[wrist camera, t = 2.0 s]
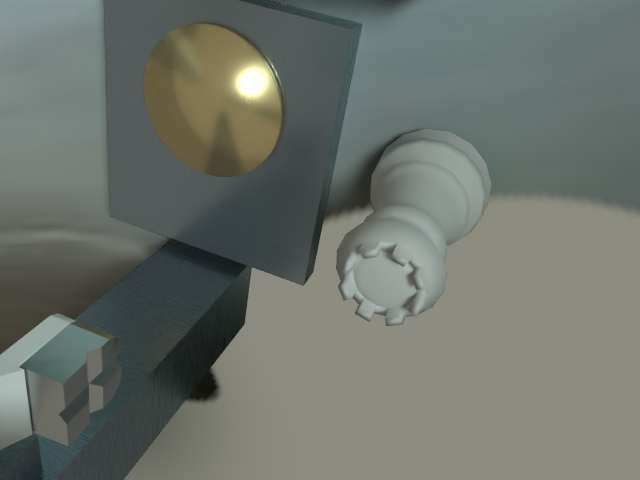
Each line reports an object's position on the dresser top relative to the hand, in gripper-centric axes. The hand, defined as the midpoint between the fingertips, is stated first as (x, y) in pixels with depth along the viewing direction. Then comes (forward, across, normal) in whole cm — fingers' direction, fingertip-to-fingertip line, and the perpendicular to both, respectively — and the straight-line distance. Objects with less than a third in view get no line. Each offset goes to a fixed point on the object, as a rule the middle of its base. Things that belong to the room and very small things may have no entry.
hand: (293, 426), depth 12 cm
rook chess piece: (+14, -1, 0) cm, 14 cm away
